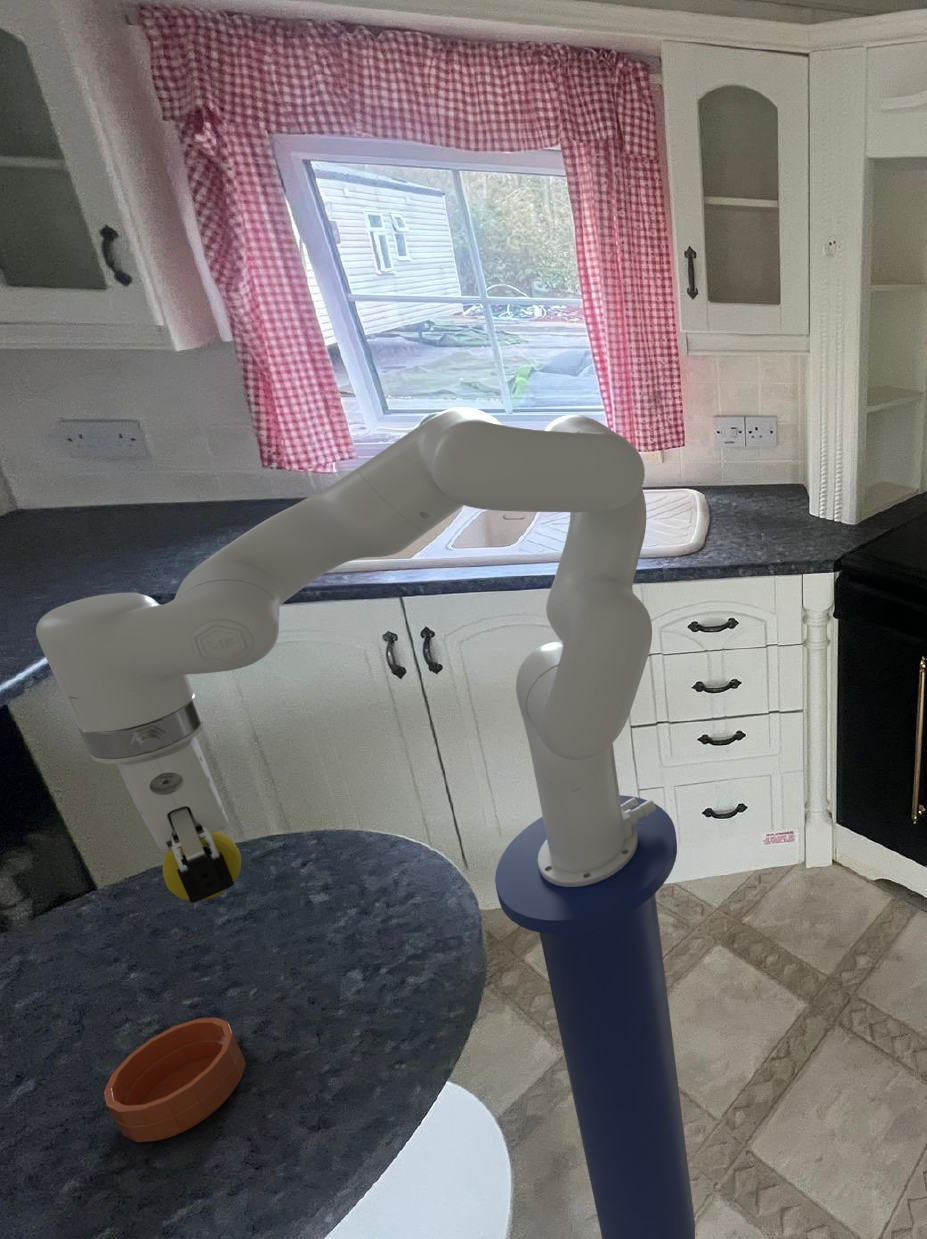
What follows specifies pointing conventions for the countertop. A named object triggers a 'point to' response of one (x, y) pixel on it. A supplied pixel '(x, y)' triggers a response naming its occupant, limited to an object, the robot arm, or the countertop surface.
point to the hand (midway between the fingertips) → (206, 874)
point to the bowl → (175, 1080)
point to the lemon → (220, 841)
